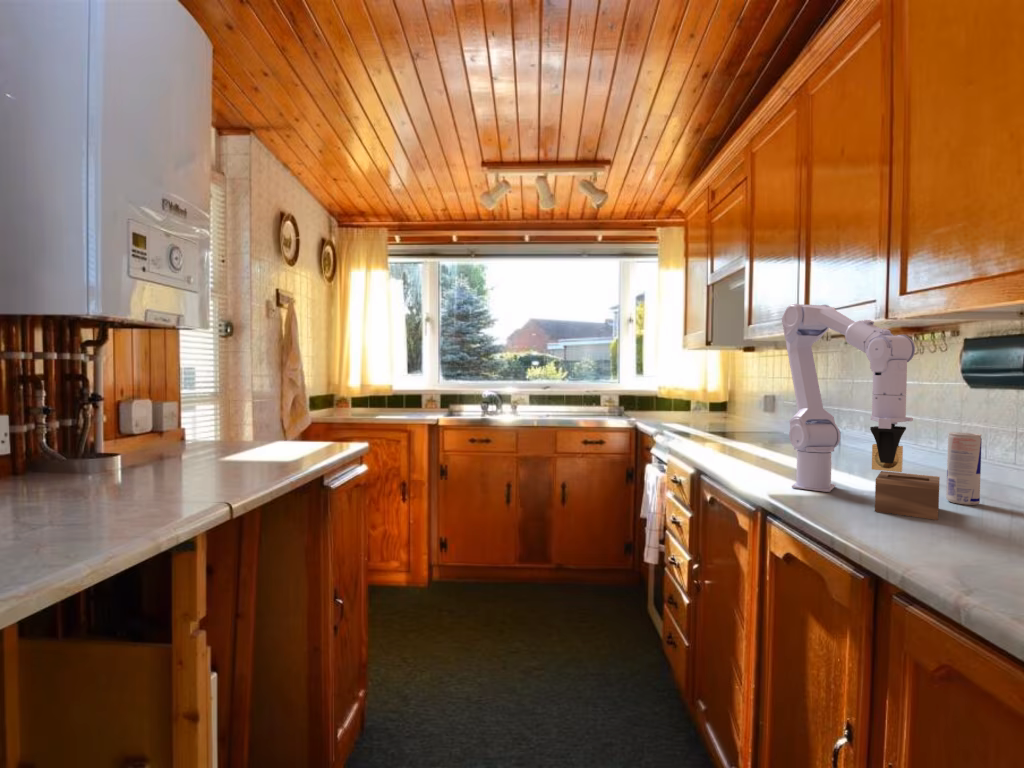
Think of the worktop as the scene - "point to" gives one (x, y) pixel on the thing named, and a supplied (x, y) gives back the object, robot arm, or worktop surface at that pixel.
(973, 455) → the white cylindrical canister
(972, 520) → the worktop surface
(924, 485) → the money box
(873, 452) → the tan square block
